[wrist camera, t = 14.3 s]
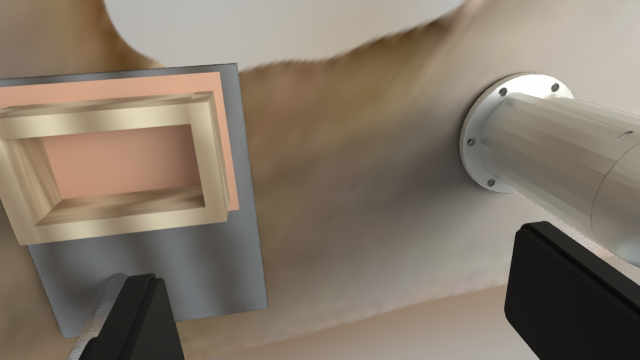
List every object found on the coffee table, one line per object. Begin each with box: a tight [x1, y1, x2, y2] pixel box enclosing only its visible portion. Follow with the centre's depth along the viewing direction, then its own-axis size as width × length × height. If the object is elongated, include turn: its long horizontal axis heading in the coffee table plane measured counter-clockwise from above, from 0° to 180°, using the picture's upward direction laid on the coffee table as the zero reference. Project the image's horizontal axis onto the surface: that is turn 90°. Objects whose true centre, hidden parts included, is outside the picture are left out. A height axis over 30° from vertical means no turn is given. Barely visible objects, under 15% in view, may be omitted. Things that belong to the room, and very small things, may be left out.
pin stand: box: [0, 63, 268, 360], centre depth 31 cm, size 21×26×16 cm
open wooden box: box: [0, 91, 230, 246], centre depth 32 cm, size 16×10×5 cm, turn 93°
